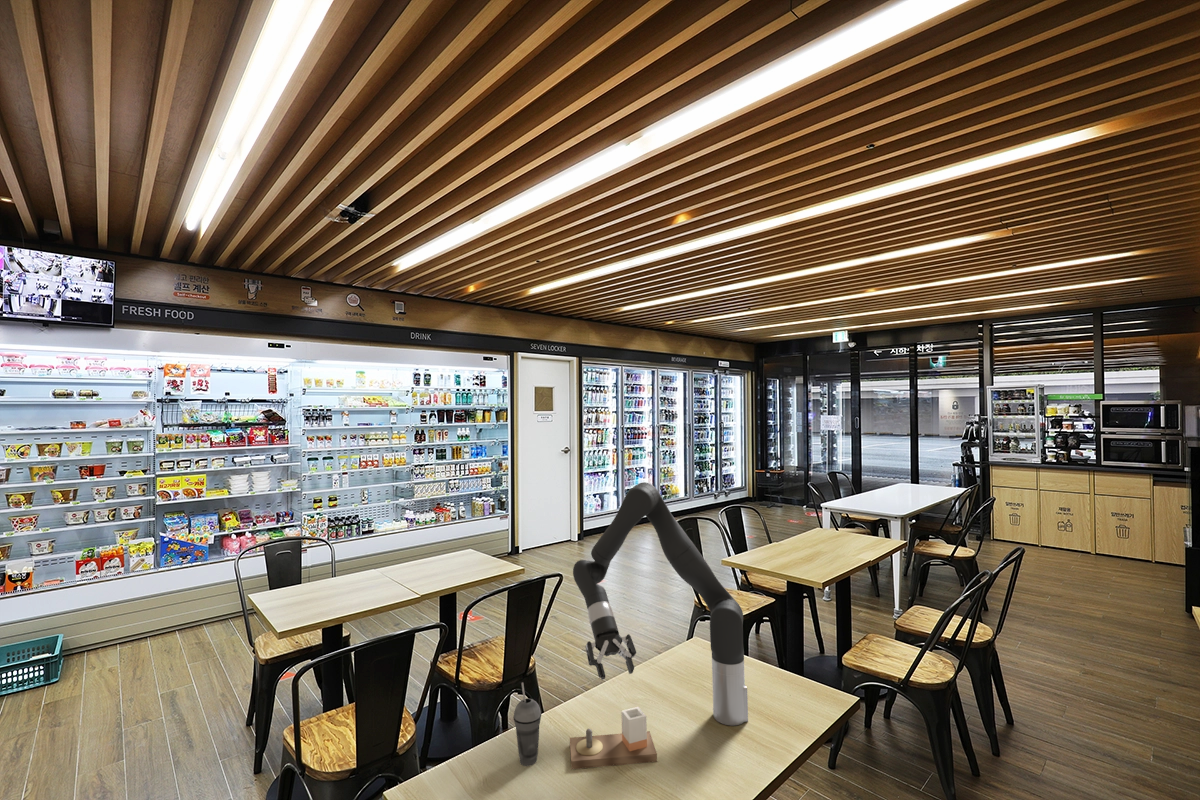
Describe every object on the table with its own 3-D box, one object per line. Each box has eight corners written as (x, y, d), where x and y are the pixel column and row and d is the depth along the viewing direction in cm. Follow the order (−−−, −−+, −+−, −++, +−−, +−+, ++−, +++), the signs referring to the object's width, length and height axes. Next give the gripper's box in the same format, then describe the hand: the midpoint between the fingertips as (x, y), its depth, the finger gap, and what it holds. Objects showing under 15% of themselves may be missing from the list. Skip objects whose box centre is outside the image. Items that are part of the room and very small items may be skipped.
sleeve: (622, 740, 147) (621, 710, 147) (639, 736, 149) (638, 706, 149) (629, 751, 142) (628, 720, 142) (647, 746, 144) (646, 716, 144)
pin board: (649, 738, 151) (649, 713, 151) (657, 761, 141) (656, 734, 141) (569, 745, 149) (569, 719, 149) (571, 769, 139) (570, 742, 139)
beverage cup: (537, 771, 138) (535, 691, 139) (510, 768, 140) (508, 689, 140) (545, 753, 145) (544, 677, 146) (519, 750, 147) (518, 675, 147)
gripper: (582, 618, 162) (597, 675, 151) (627, 611, 167) (644, 665, 156) (577, 630, 167) (591, 685, 156) (620, 622, 172) (637, 676, 161)
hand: (617, 675), depth 156 cm, fingers open, 8 cm apart
